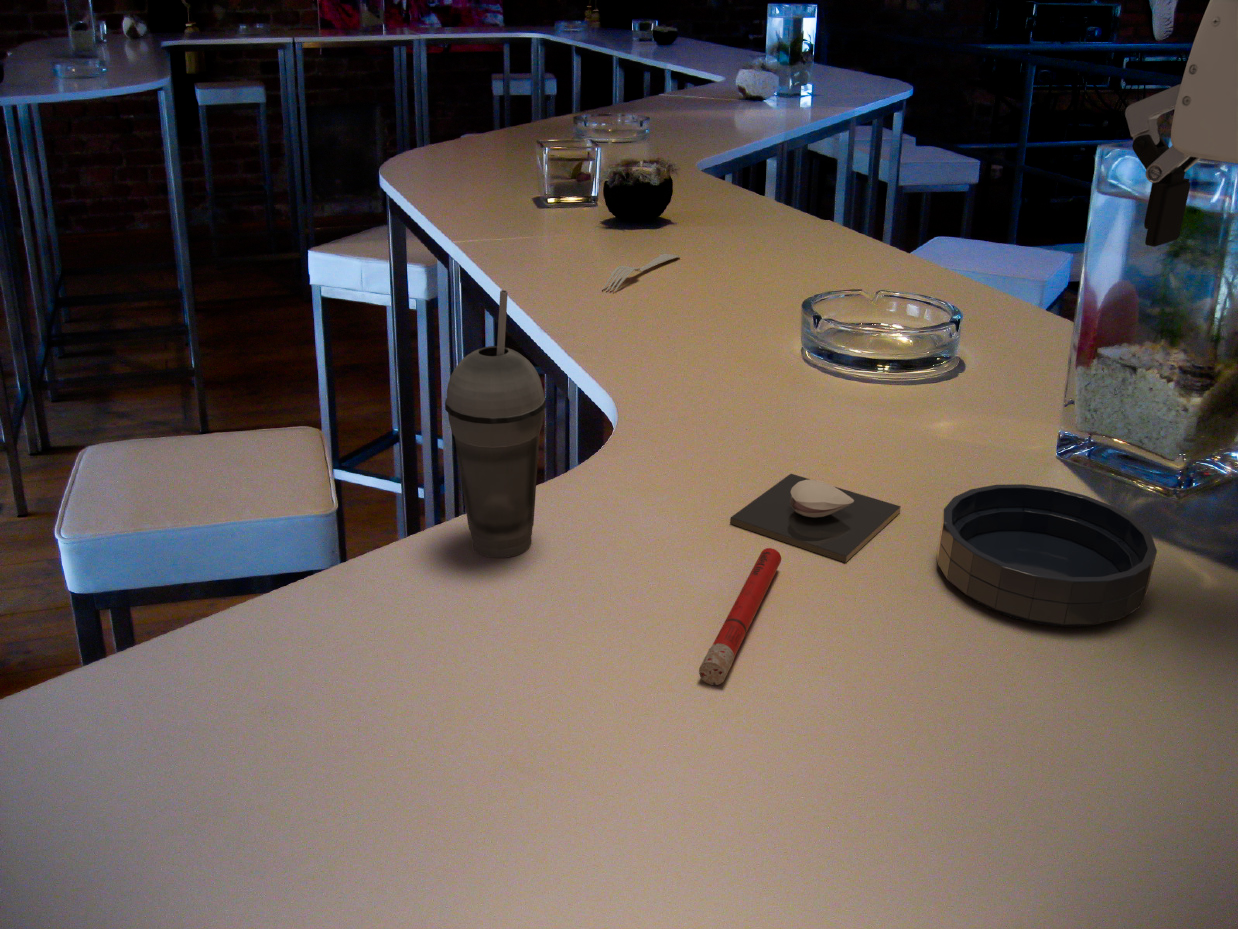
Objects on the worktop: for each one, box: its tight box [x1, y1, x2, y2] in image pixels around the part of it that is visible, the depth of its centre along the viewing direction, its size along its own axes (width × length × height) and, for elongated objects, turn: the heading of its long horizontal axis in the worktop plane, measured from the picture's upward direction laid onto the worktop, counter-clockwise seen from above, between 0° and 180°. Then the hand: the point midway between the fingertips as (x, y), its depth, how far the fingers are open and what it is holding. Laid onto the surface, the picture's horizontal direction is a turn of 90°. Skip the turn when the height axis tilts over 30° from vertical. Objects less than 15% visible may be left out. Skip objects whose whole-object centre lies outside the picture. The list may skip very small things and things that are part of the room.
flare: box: [698, 547, 782, 686], centre depth 73 cm, size 2×15×2 cm, turn 159°
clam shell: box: [790, 479, 854, 517], centre depth 86 cm, size 4×5×2 cm
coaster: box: [729, 473, 901, 564], centre depth 87 cm, size 10×10×1 cm
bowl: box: [936, 483, 1158, 628], centre depth 78 cm, size 14×14×4 cm
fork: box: [602, 253, 681, 292], centre depth 151 cm, size 3×21×3 cm, turn 152°
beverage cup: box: [444, 289, 547, 559], centre depth 78 cm, size 7×7×20 cm
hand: (1236, 257), depth 68 cm, fingers open, 9 cm apart
